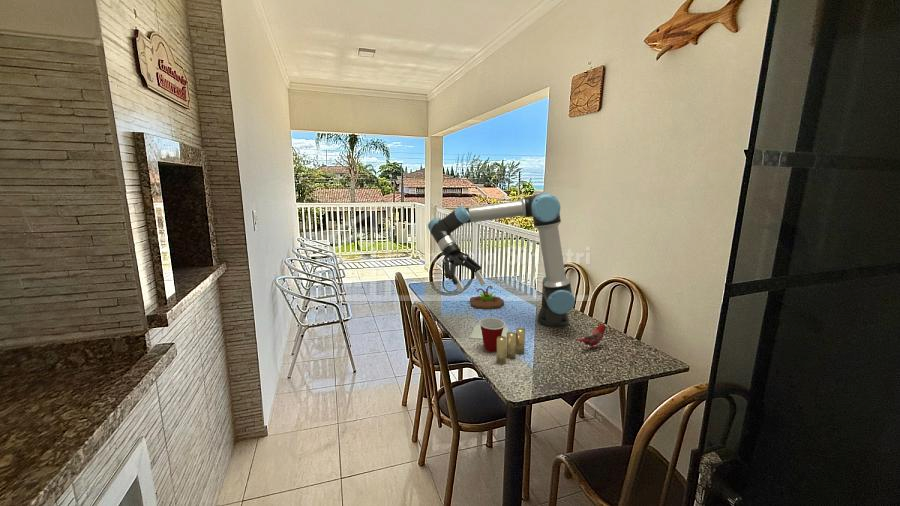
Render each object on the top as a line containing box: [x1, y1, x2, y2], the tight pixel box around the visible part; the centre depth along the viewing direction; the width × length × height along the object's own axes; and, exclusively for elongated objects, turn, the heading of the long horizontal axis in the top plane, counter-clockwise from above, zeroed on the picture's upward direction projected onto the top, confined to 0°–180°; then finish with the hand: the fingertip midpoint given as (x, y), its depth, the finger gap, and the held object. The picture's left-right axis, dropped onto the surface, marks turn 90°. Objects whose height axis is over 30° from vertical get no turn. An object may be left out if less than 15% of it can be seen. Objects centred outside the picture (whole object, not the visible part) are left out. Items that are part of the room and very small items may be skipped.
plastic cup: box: [478, 317, 506, 353], centre depth 153 cm, size 11×11×12 cm
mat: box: [469, 324, 510, 341], centre depth 171 cm, size 16×16×1 cm
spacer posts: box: [496, 327, 526, 365], centre depth 146 cm, size 4×16×10 cm, turn 133°
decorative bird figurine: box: [575, 323, 607, 350], centre depth 152 cm, size 3×18×10 cm, turn 118°
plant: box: [469, 285, 505, 311], centre depth 212 cm, size 20×20×11 cm
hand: (473, 287), depth 157 cm, fingers open, 13 cm apart
